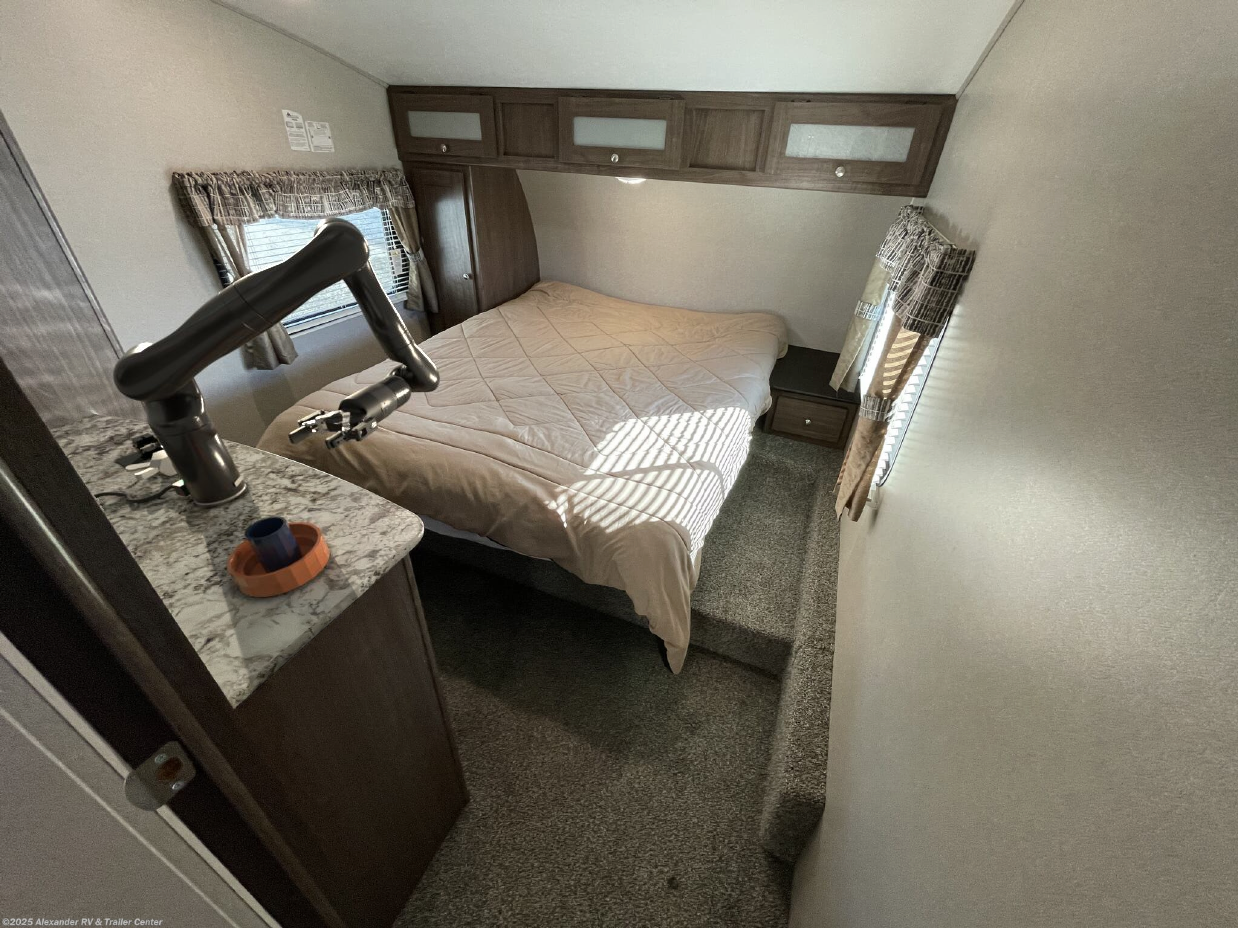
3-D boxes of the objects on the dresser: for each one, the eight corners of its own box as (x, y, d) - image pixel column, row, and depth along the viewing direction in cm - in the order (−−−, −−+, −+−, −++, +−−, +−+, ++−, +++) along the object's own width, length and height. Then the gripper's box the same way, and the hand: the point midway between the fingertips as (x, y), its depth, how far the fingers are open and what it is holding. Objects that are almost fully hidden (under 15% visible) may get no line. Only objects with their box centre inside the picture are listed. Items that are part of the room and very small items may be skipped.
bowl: (219, 589, 83) (205, 568, 81) (288, 536, 95) (277, 516, 92) (285, 606, 80) (273, 585, 77) (348, 549, 91) (339, 529, 89)
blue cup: (258, 574, 85) (235, 535, 80) (286, 552, 90) (266, 513, 85) (285, 581, 84) (264, 541, 79) (312, 557, 89) (294, 519, 84)
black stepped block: (128, 468, 117) (116, 452, 115) (115, 461, 120) (103, 444, 118) (186, 445, 126) (177, 429, 124) (172, 438, 129) (163, 423, 127)
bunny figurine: (215, 446, 117) (134, 469, 106) (222, 465, 119) (144, 490, 108) (197, 436, 121) (118, 458, 110) (204, 455, 124) (127, 478, 112)
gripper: (336, 386, 104) (271, 420, 91) (393, 393, 100) (333, 429, 87) (347, 418, 108) (286, 454, 95) (402, 426, 104) (346, 465, 91)
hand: (309, 442), depth 91 cm, fingers open, 8 cm apart
